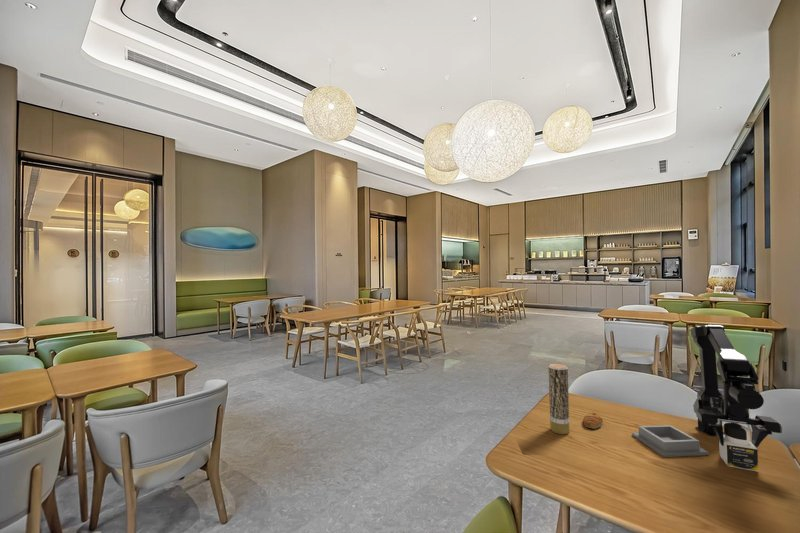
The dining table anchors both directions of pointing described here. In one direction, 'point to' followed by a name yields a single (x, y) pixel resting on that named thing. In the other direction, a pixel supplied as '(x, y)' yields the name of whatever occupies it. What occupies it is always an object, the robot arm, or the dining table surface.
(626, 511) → the dining table surface
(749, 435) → the medicine bottle
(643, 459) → the dining table surface
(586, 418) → the pastry
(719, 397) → the robot arm
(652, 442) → the bottle caddy
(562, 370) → the bark-patterned cylinder
